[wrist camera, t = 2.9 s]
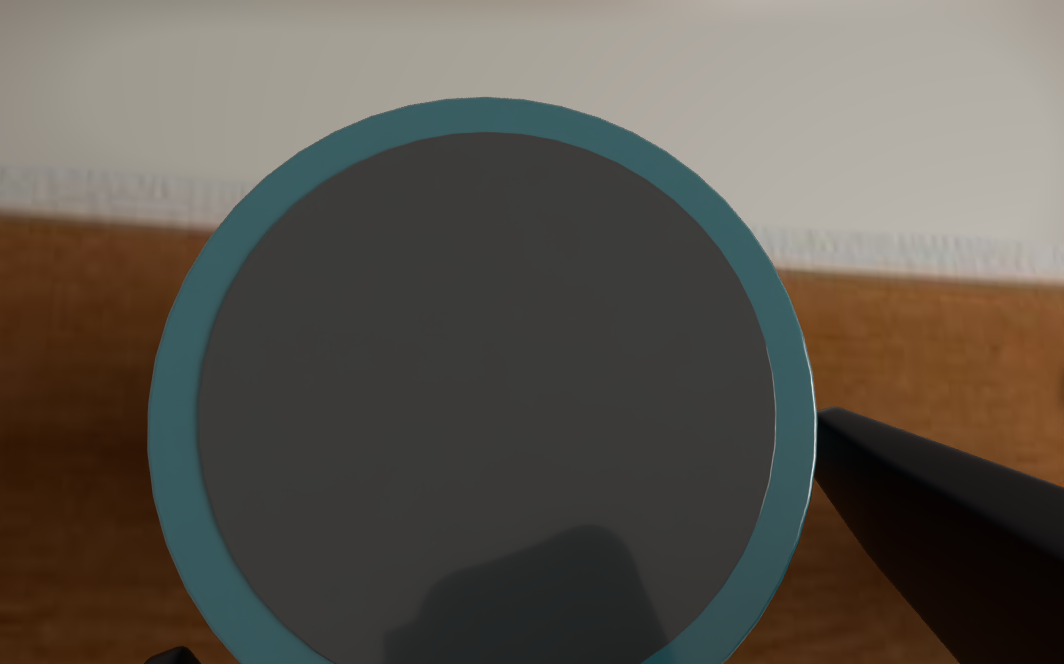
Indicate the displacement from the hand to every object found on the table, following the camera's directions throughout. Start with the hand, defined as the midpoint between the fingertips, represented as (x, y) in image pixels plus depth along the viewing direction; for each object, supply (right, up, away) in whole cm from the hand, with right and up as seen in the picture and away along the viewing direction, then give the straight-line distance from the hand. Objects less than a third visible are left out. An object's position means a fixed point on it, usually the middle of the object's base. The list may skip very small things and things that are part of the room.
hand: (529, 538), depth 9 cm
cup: (-1, 0, +7) cm, 7 cm away
